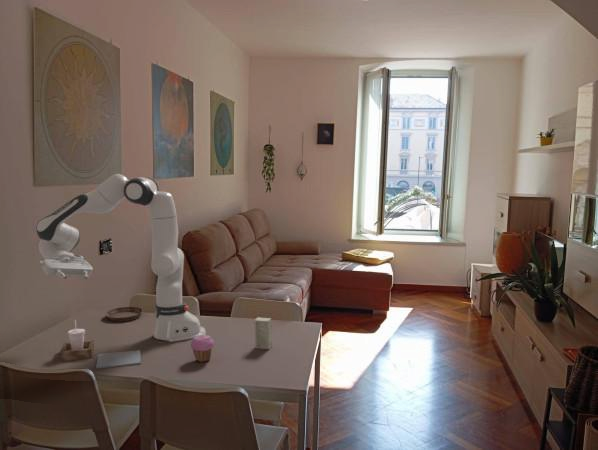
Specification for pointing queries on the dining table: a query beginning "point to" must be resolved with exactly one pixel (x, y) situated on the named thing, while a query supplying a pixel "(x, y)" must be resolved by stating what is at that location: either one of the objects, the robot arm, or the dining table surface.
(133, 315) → the plant saucer
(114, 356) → the slate mat
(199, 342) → the cupcake
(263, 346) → the skincare box
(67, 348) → the walnut holder
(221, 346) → the dining table surface
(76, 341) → the smoothie
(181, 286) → the robot arm
